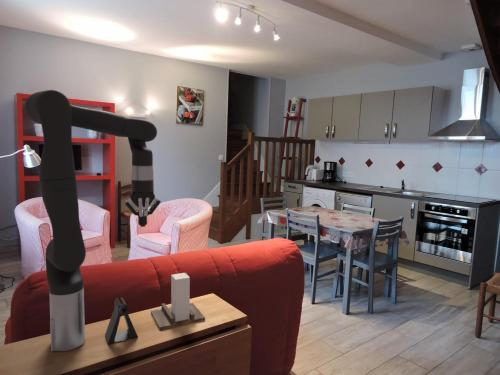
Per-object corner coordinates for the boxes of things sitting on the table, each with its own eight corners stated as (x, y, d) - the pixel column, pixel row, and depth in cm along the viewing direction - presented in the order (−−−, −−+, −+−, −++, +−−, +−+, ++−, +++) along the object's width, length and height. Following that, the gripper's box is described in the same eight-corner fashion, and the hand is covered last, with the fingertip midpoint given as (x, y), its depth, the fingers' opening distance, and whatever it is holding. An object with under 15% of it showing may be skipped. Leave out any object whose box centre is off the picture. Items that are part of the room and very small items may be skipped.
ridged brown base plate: (159, 330, 118) (159, 321, 118) (150, 313, 129) (150, 305, 129) (204, 320, 126) (205, 312, 125) (192, 305, 137) (192, 297, 137)
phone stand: (133, 329, 118) (133, 294, 117) (137, 337, 113) (137, 301, 112) (104, 335, 114) (104, 300, 112) (107, 345, 108) (107, 307, 107)
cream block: (175, 321, 121) (175, 279, 119) (171, 315, 125) (171, 274, 124) (189, 318, 123) (189, 277, 122) (184, 312, 128) (185, 272, 126)
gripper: (124, 179, 119) (125, 230, 121) (163, 179, 125) (163, 227, 127) (121, 177, 126) (121, 225, 128) (158, 177, 132) (158, 222, 134)
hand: (142, 226), depth 128 cm, fingers closed
